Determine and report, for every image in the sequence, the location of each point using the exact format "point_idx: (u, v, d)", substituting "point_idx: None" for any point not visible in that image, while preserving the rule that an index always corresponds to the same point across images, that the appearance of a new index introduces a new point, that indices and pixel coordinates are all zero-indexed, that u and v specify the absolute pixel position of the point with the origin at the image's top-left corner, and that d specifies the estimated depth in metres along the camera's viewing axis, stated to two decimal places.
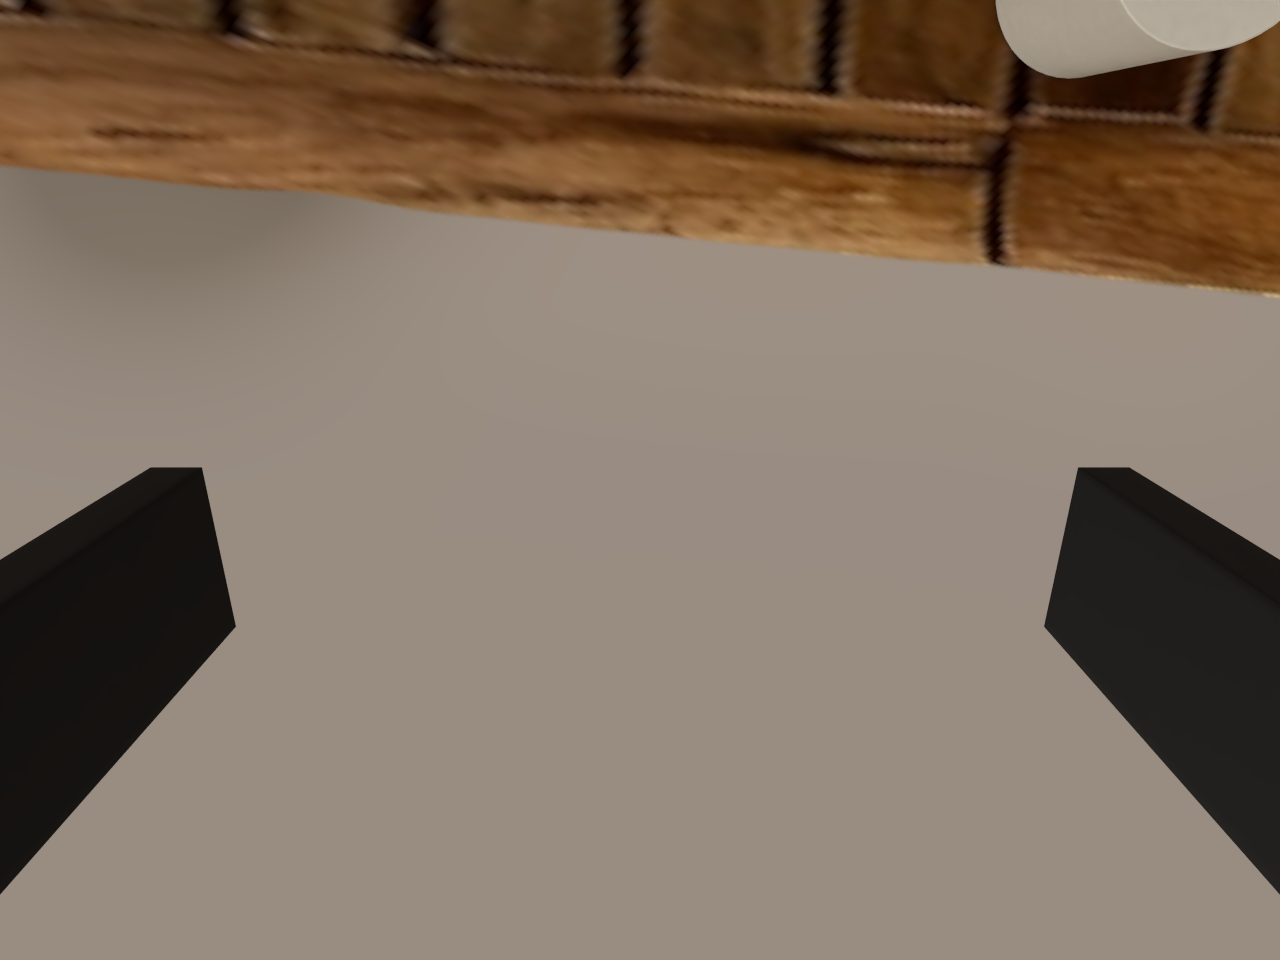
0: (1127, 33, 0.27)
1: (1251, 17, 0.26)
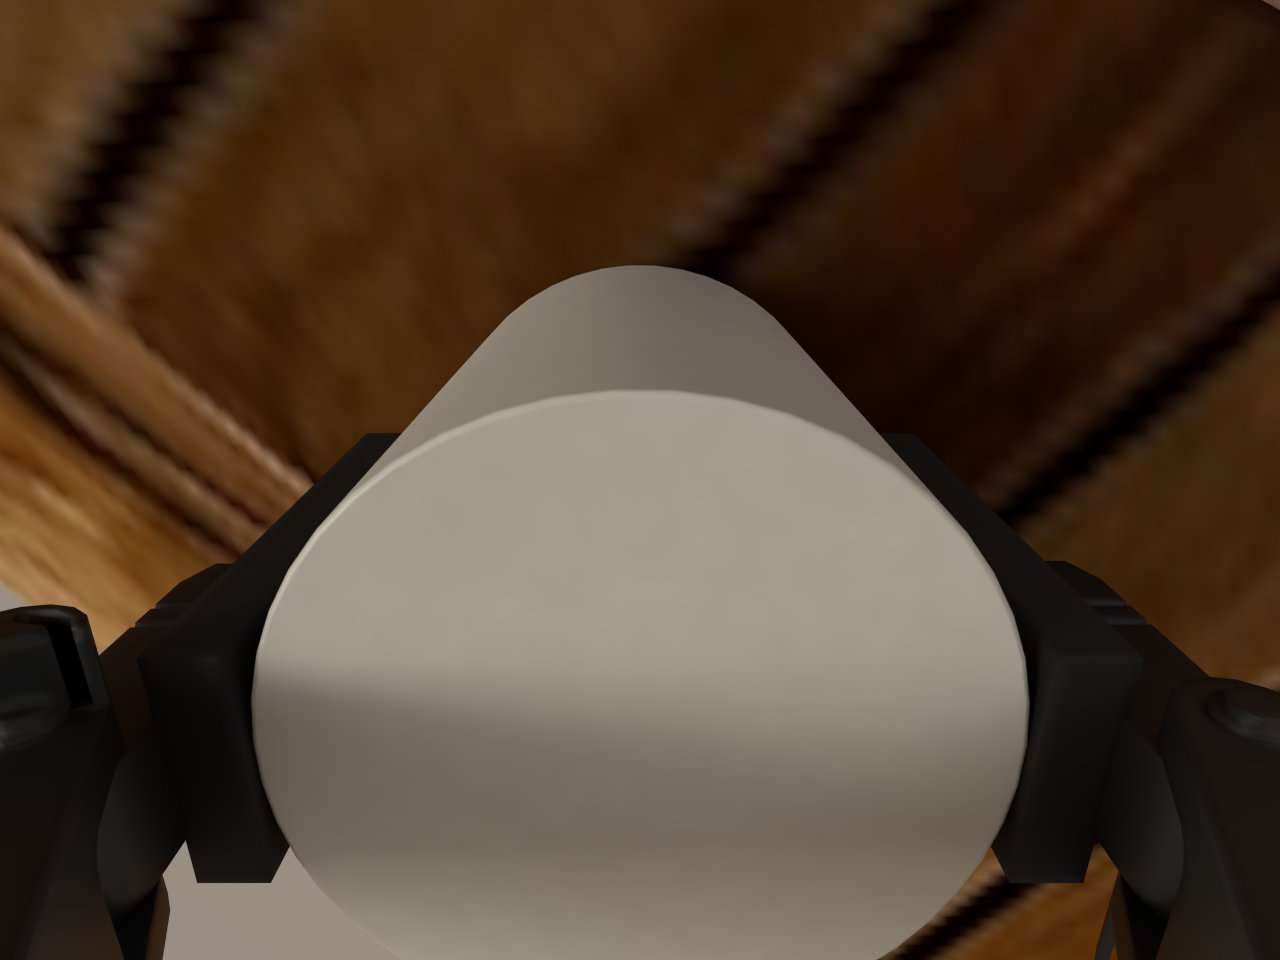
0: None
1: None
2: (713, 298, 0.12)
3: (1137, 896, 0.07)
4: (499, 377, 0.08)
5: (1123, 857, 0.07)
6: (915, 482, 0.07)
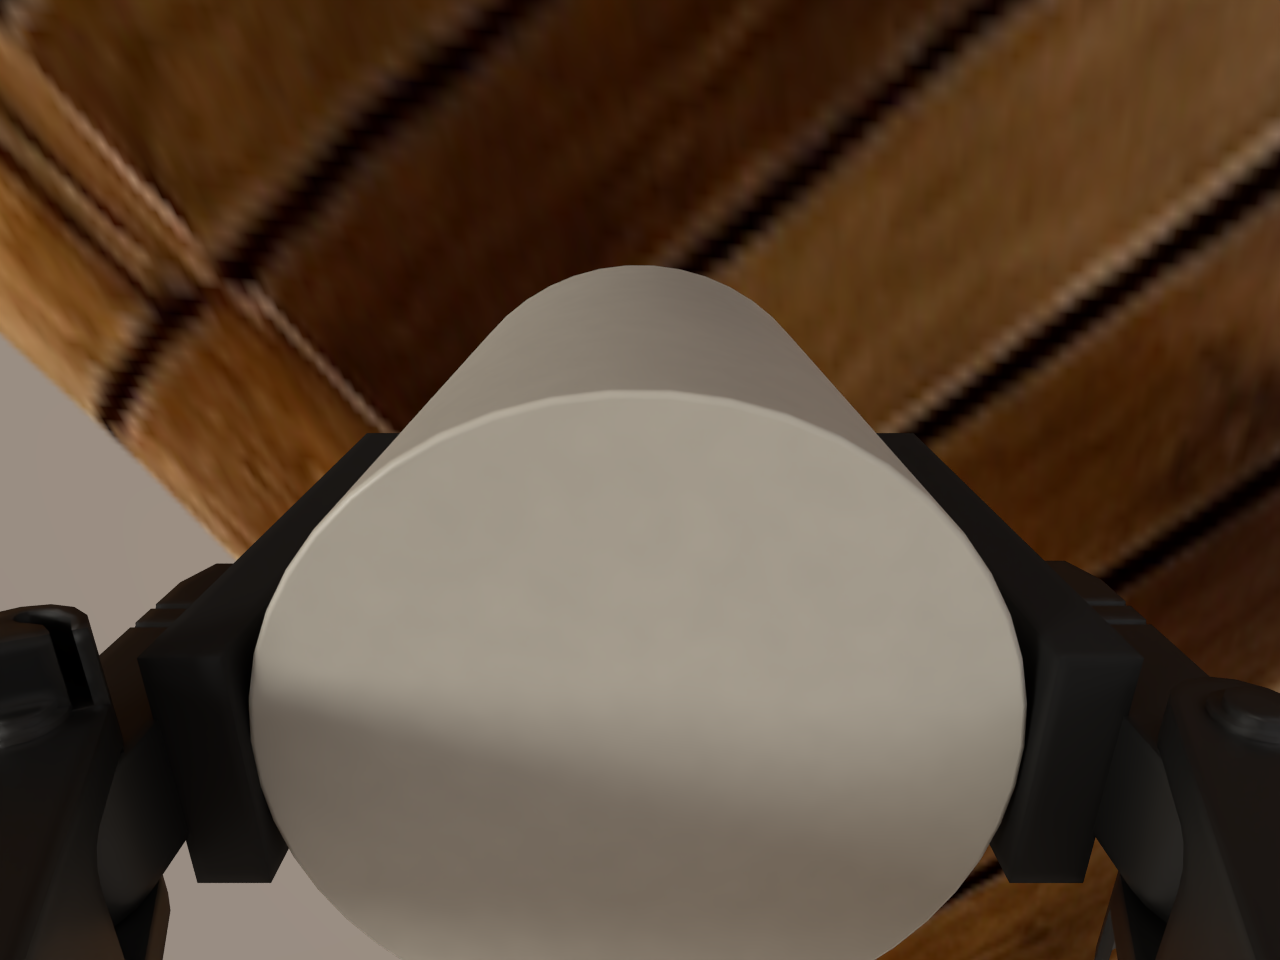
0: None
1: None
2: (712, 298, 0.12)
3: (1137, 896, 0.07)
4: (497, 377, 0.08)
5: (1123, 857, 0.07)
6: (912, 482, 0.07)
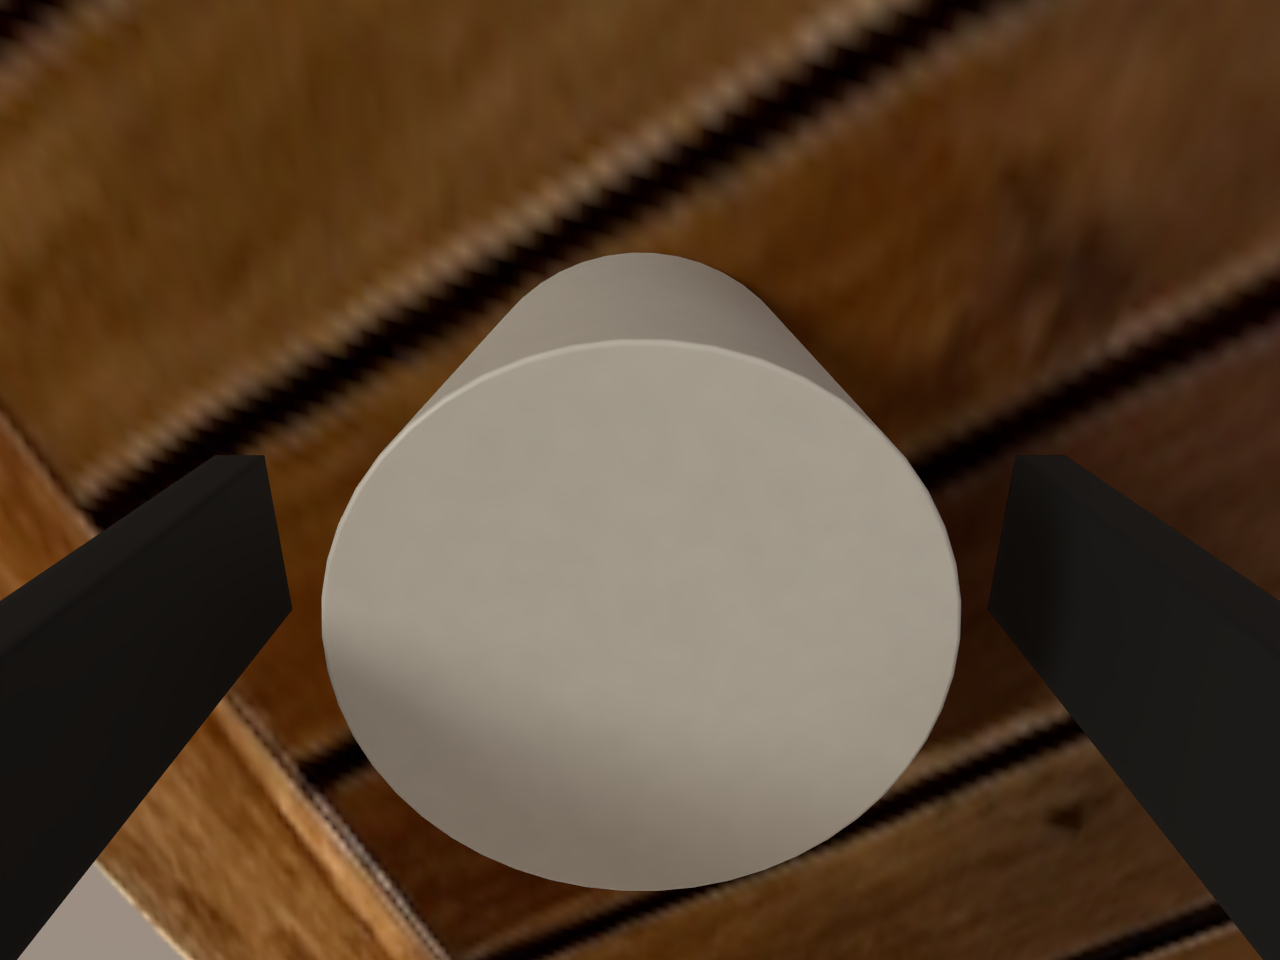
0: None
1: (581, 852, 0.11)
2: (705, 279, 0.14)
3: None
4: (524, 336, 0.10)
5: None
6: (863, 416, 0.08)
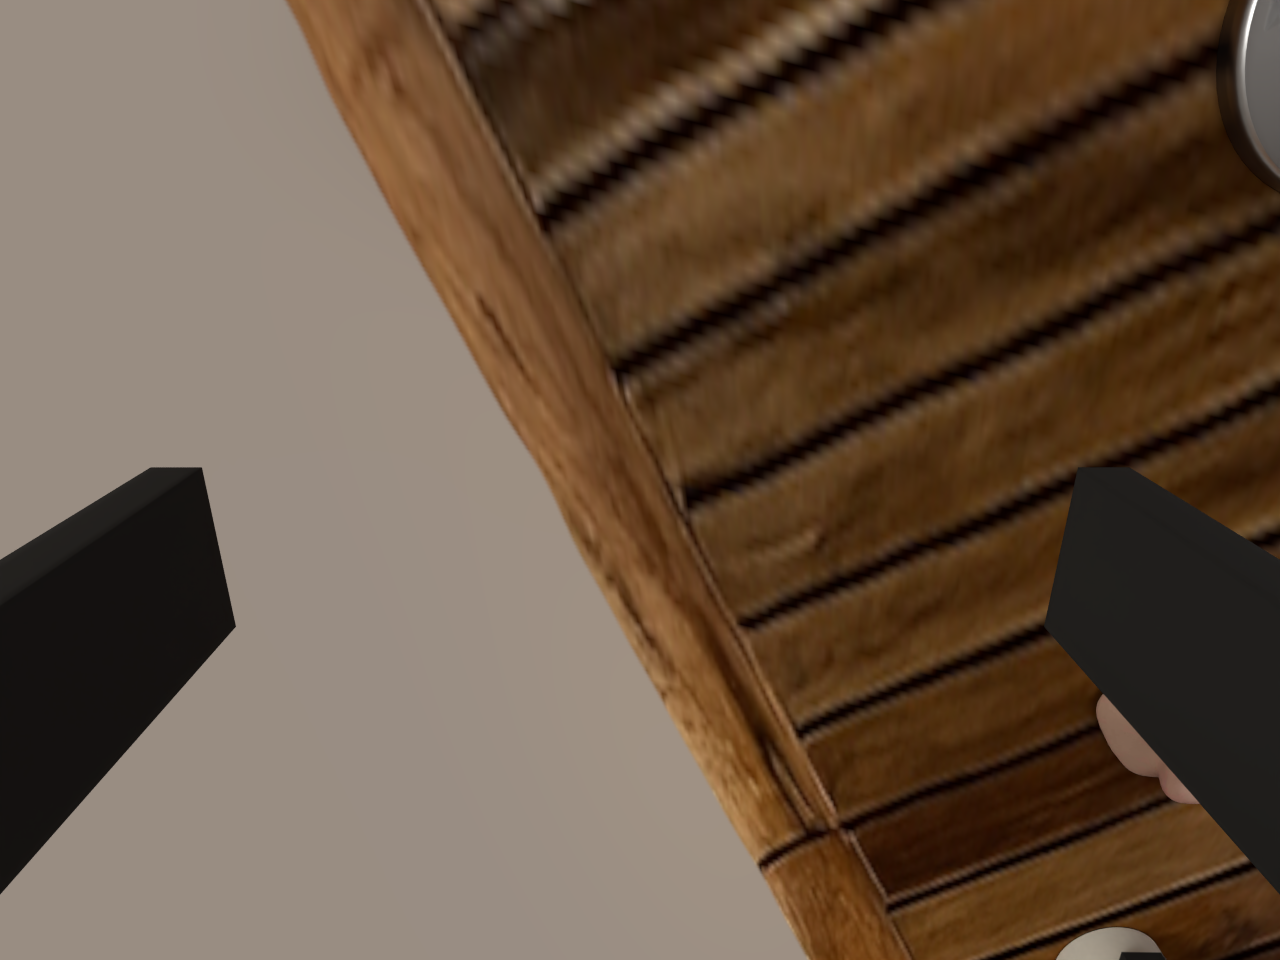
0: None
1: None
2: None
3: None
4: None
5: None
6: None
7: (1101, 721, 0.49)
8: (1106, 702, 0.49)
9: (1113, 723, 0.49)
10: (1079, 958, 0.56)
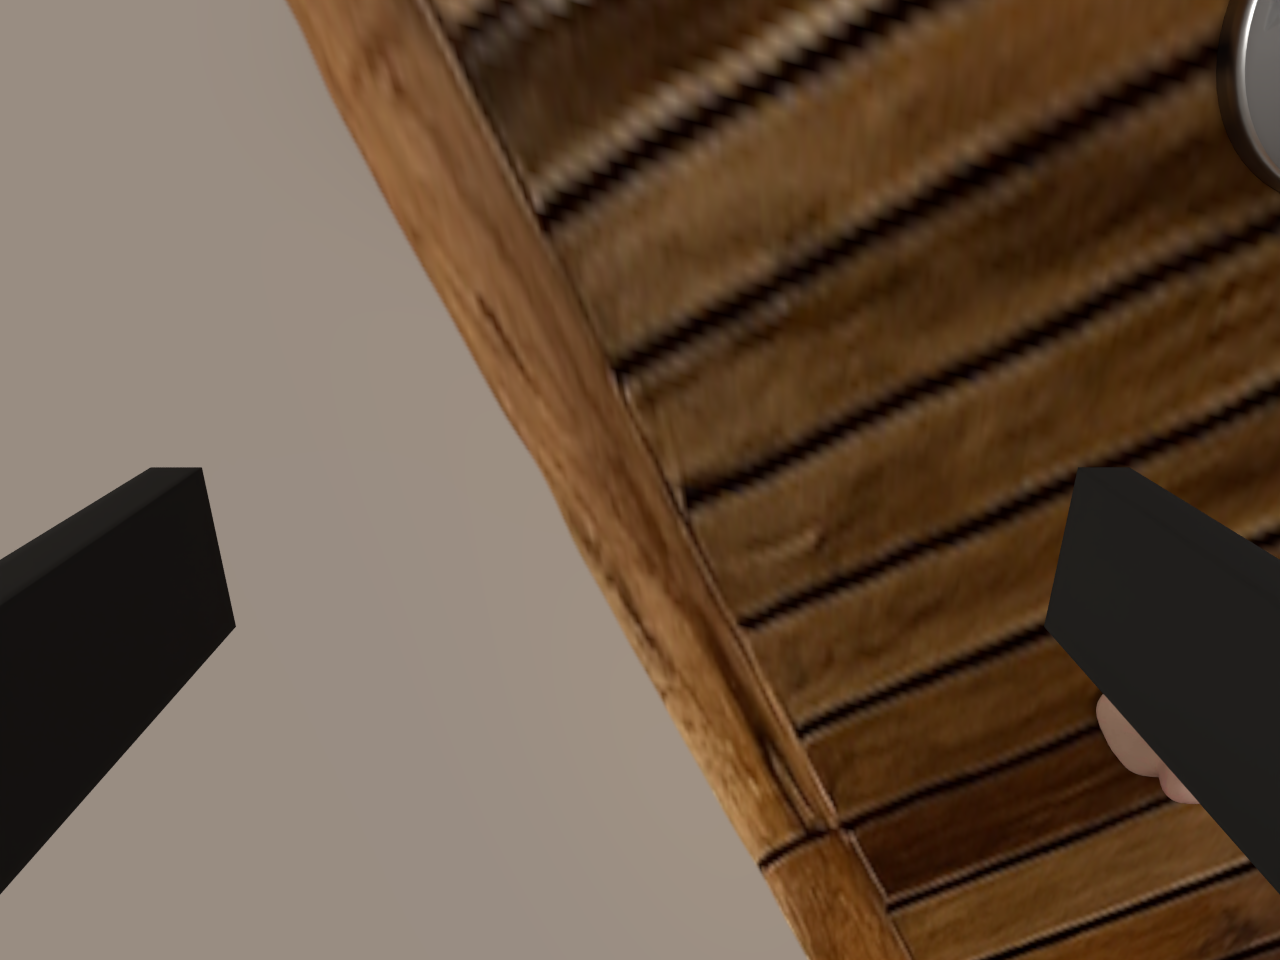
0: None
1: None
2: None
3: None
4: None
5: None
6: None
7: (1101, 721, 0.49)
8: (1106, 702, 0.49)
9: (1113, 723, 0.49)
10: None
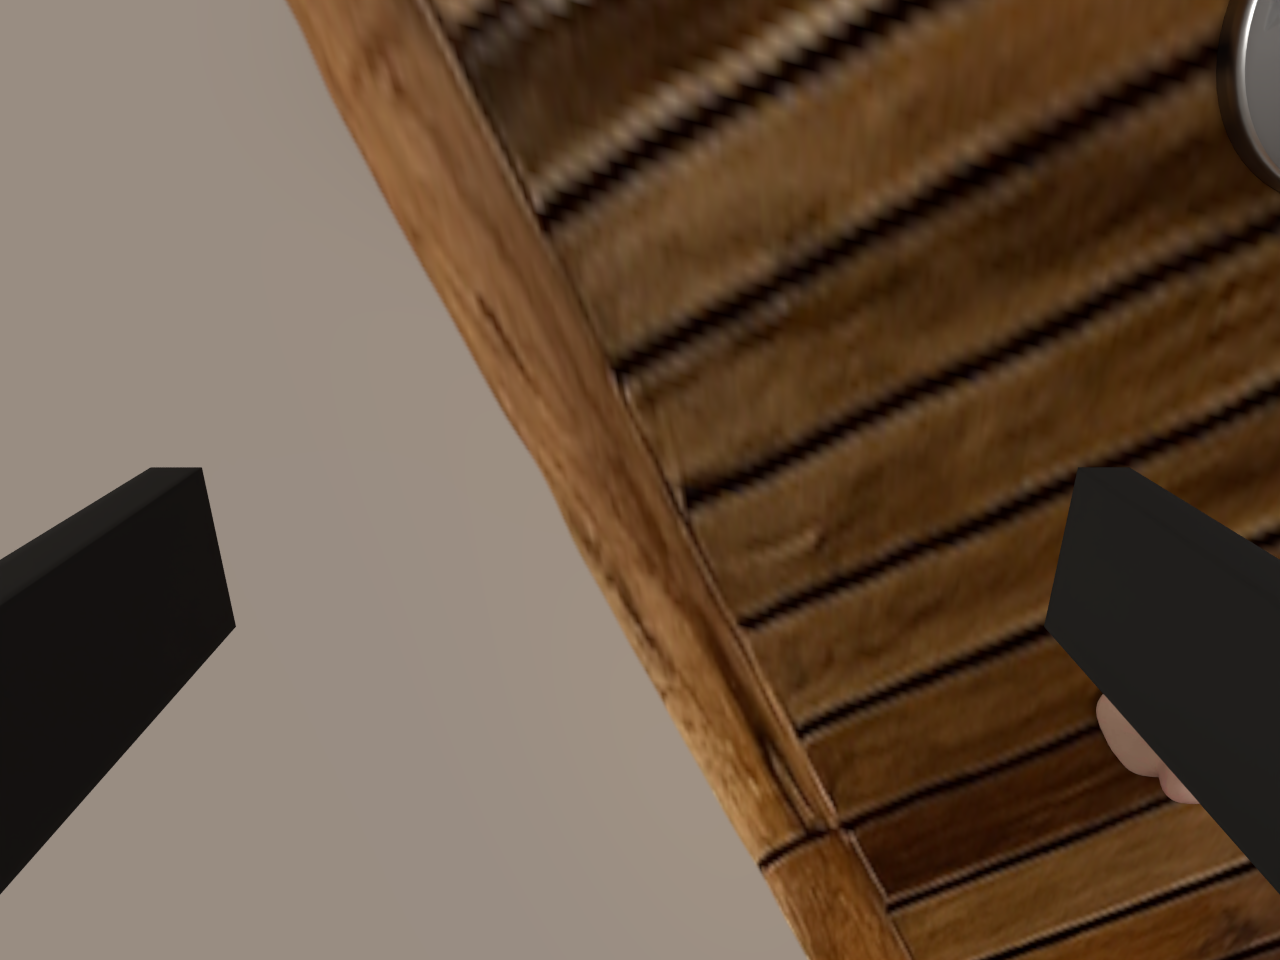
0: None
1: None
2: None
3: None
4: None
5: None
6: None
7: (1101, 721, 0.49)
8: (1106, 702, 0.49)
9: (1113, 723, 0.49)
10: None
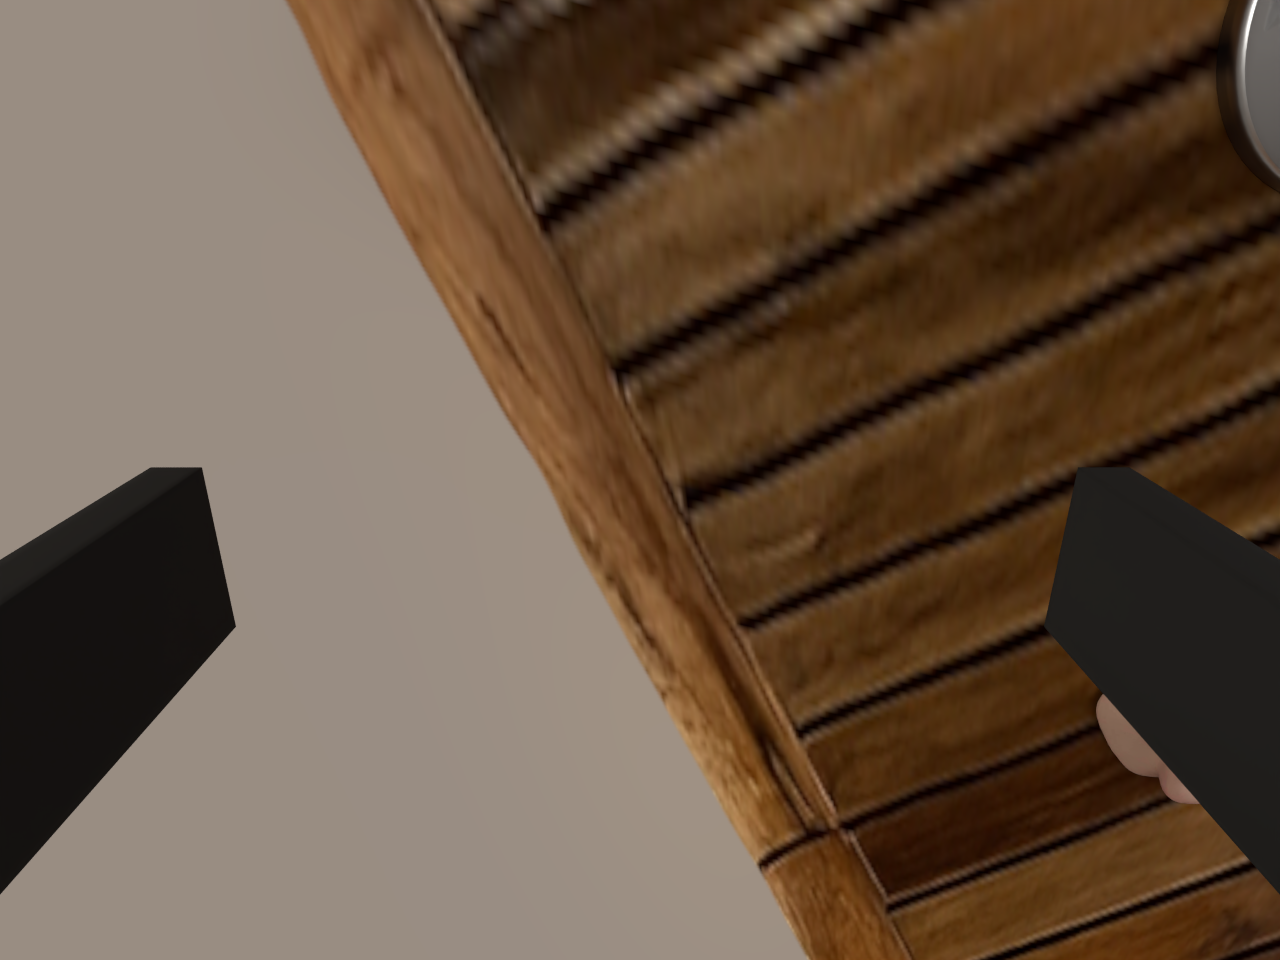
0: None
1: None
2: None
3: None
4: None
5: None
6: None
7: (1101, 721, 0.49)
8: (1106, 702, 0.49)
9: (1113, 723, 0.49)
10: None
